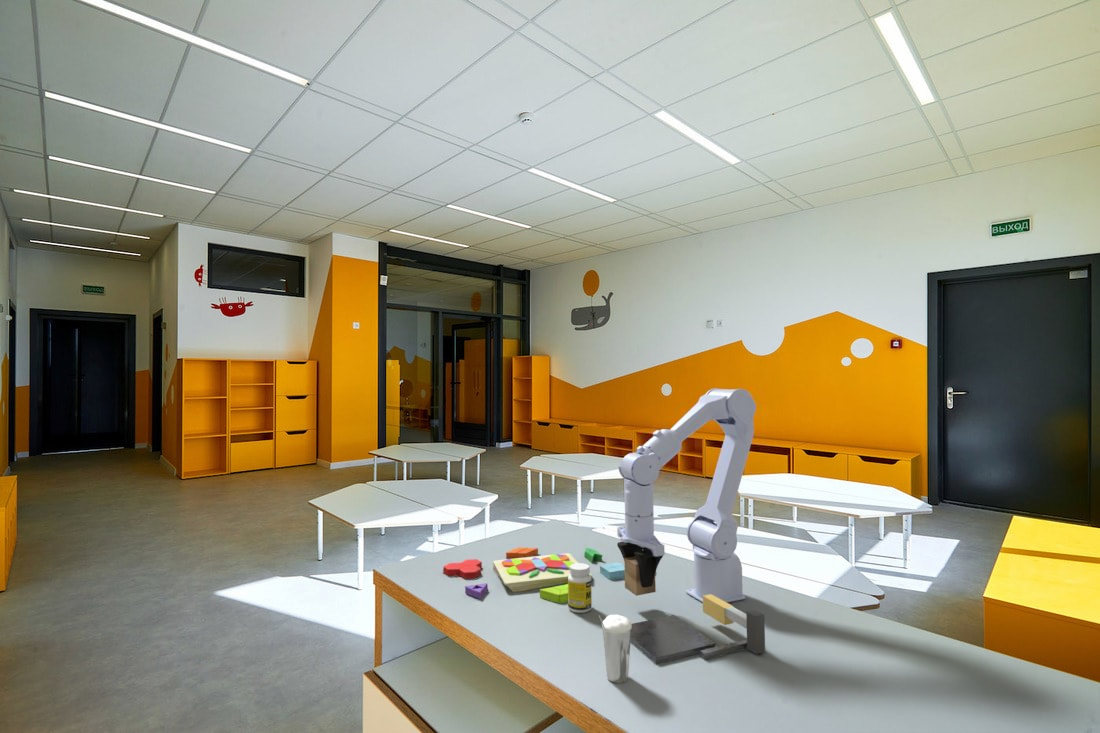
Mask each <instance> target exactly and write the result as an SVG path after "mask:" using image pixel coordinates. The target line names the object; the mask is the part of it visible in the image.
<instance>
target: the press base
mask: <svg viewBox="0 0 1100 733" xmlns="http://www.w3.org/2000/svg"><path fill="white" fill-rule="evenodd" d="M631 624H632V630H631V641H630V644H632V645H633V646H634V647H635V648H637V649H638V650H639V652H641V653H642V654H644V656H646V657H647V658H648V659H649V660H650V661H651V662H653V664H655V665H657V664H662V663H666V662H669V661H673V660H678V659H682V658H686V657H690V656H694V655H699V657H700V658H701V659H702V660H708V659H712V658H716V657H721V656H725V655H729V654H732V653H735V652H736V653H737V652H740V651H744V650H748V649H747V638H746V639H743V640H739V641H734V642H731V643H727V644H722V645H717V646H716V642H715V641H713V640H711V639H710V638H708V637H707V636H706V635H704V634H703V633H701V632H699V631H698V630H697V629H695V628H693V627H692V626H690V625H689V624H688V623H686V622H684V621H683V619H682V620H681V619H680V618H679V617H677V615H674V614H673V615H672V614H671V615H667V616H662V617H658V618H654V619H653V618H652V619H649V620H644V621H640V622H639V621H638V622H634V623H631Z"/></svg>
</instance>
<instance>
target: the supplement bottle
mask: <svg viewBox="0 0 1100 733" xmlns="http://www.w3.org/2000/svg"><path fill="white" fill-rule="evenodd" d="M590 572H591V571H590V565H588V564H587V563H582V562H581V563H580V562H578V563H576V564H572V565H570V575H569V577H568V583H567V584H568V601H567V604H568V605H567V607H568V610H569V611H571V612H573V613H578V614H583V613H588V612H590V611H591V609H592V607H593V606H592V603H593V602H592V600H593V599H592V579H591V576H590V575H589V574H591V573H590Z"/></svg>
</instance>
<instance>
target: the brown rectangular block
mask: <svg viewBox="0 0 1100 733" xmlns="http://www.w3.org/2000/svg"><path fill="white" fill-rule="evenodd" d="M623 562H624V566H625V578H624V588H625V590H627V591H629V592H631V594H633V595H634V596H636V597H637V596H641V595H647V594H648V595H649V594H652V593H656V576H657V572H656V573H655V577H654V581H653V585H652V586H650V587H645V588H643V587H642V585H641V581H640V571H639V566H638V562H637V559H636V557H635V556H633V557H627V558H624V559H623Z"/></svg>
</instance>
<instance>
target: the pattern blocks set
mask: <svg viewBox="0 0 1100 733" xmlns="http://www.w3.org/2000/svg"><path fill="white" fill-rule="evenodd" d="M505 554H506V555H505V558H506V559H497V560H493V565H492V571H494V573H495V574H496V575H497V577H499V579H500V580H501V581H502V583H503V584H504V586H506V587H507V588H508V589H509V590H510V591H511V592H513V593H518V592H523V591H530V590H531V591H532V590H535V589H539V592H538V593H539V598H540V599H544V600H547V601H551V602H553V603H554V602H555V603H558V604H561V603H566V602H567V603H568V577H569V575H570V565H572V564H576V563H579V562H578V560H576V558H575V557H574V556H573V555H572V554H571V553H569V552H568V553H567V552H566V553H557V554H547V555H546V554H545V555H538V554H539V548H538V547H519V546H518V547H516V548H514V549H512V550H508V551H507V552H506V553H505ZM583 554H584V558H585V559H586V560H587V561H588V562H590V564H593V563H594V561H597V562H600V563H603V554H602V553H600V552H598V551H597V550H595V549H594V548H589V547H585V551H584V553H583ZM482 565H483V563H482V560H479V559H478V558H473V559H464V560H463V561H461V562H449V563H448V564H446V565H444V566H443V570H442V574H444V575H446V576H448V577H453V576H460V577H461V578H463V579H465V580H467V579H468V580H469V579H477V578H478V577H480V576H481V575H482V568H483V566H482ZM599 570H600V571H599V574H601V575H602V576H604V577H605V578H606V579H607V580H609V581H612V580H618V579H625V564H622V563H621V562H612V563H607V564H606V563H604V564H601V565H599ZM589 575H590V576H591V580H593V574H592V573H590V574H589ZM464 588H465V590H464V592H465V595H469V596H471V597H474V598H476V599H478V600H482V598H483V597H484V596H485V595H487V593H488V592H489V589H488V588H489V587H488V583H479V584H471V585H465V586H464Z"/></svg>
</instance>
